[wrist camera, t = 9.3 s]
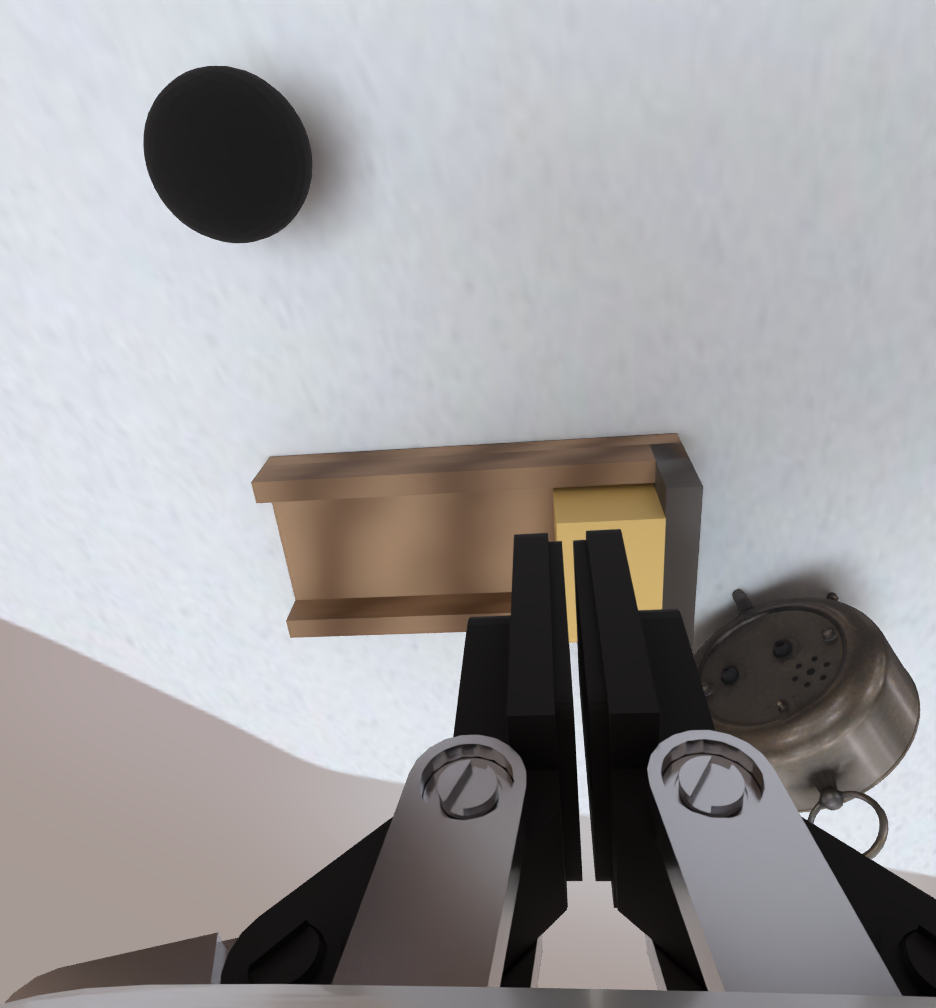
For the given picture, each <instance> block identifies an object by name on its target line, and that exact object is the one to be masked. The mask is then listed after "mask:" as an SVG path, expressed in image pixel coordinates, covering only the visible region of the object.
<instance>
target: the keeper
mask: <svg viewBox="0 0 936 1008" xmlns="http://www.w3.org/2000/svg"><path fill="white" fill-rule="evenodd" d="M553 509H554V534H555V541H562V549H563V564H564V578H565V592H566V607H567V621H568V635H569V643H570V642H577V623H576V601H575V579H574V557H573V540H586V531H590V530H609V529H621V532H622V536H623V541H624V545H625V550H626V555H627V560H628V564H629V569H630V574H631V579H632V583H633V588H634V593H635V598H636V602H637V607H638V610H659V609H662V600H663V575H664V551H665V527H666V517H665V515H664V512H663V509H662V506H661V504H660V501H659V498H658V495H657V492H656V490H655V487H654V484H653V483H638V484H619V485H599V486H580V487H561V488H553Z"/></svg>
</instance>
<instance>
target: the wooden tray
mask: <svg viewBox="0 0 936 1008" xmlns="http://www.w3.org/2000/svg"><path fill="white" fill-rule="evenodd" d="M251 483H252V487H253V491H254V495H255V499H256V503H269V502H272V504H273V509H274V513H275V517H276V521H277V525H278V529H279V534H280V538H281V542H282V546H283V550H284V554H285V558H286V563H287V567H288V571H289V575H290V579H291V583H292V587H293V592H294V596H295V603H294V605H293V607H292V609H291V611H290V614H289V616H288V618H287V620H286V622H287V626H288V630H289V634H290V638H294V637H324V636H354V635H384V634H414V633H444V632H466V631H467V624H468V619H469V617H481V616H506V615H511V594H512V570H513V546H514V534H532V533H548V540H549V542H551V541H555V534H554V509H553V488H561V487H580V486H599V485H619V484H638V483H653V484H654V487H655V490H656V492H657V495H658V498H659V501H660V504H661V506H662V509H663V512H664V515H665V517H666V527H665V551H664V575H663V600H662V609H678V610H679V611H680V613H681V616H682V619H683V622H684V626H685V629H686V632H687V636H688V639H689V643H690V646H691V649H692V644H693V629H694V614H695V599H696V584H697V569H698V554H699V539H700V524H701V509H702V494H703V486H702V484H701V481H700V479H699V477H698V475H697V473H696V471H695V469H694V467H693V465H692V463H691V461H690V459H689V457H688V455H687V453H686V451H685V449H684V447H683V445H682V443H681V441H680V438H679V436H678V434H677V433H673V434H656V435H639V436H621V437H604V438H587V439H569V440H552V441H535V442H517V443H500V444H483V445H465V446H448V447H431V448H413V449H396V450H379V451H361V452H344V453H327V454H309V455H292V456H275V457H269V459H268V460H267V461H266V463H265V464H264V466H263V467H262V468H261V470H260V471H259V473H258V474H257V475H256V477H255V478H254V480H253V481H252V482H251Z"/></svg>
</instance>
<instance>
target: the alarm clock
mask: <svg viewBox="0 0 936 1008" xmlns="http://www.w3.org/2000/svg"><path fill="white" fill-rule="evenodd" d="M733 598H734V600H735V602H736V604H737V606H738V609H739V611H740V615H739V617H737V618H736V619H734V620H732V621H731V622H729V623H728V624H726V625H725V626H724V627H722V628H721V629H720V630H719V631H717V632H716V633H715V634H714V635H713V636H712V637H711V638H709V639H708V640H707V641H706V642H705V644H704V645H703V646H702V647H701V648H700V649H699V651H698V652H697V653H696V655H695V656H694V660H695V663H696V666H697V670H698V673H699V677H700V680H701V683H702V687H703V690H704V694H705V697H706V700H707V704H708V707H709V711H710V714H711V717H712V721H713V724H714V728H715V731H716V732H721V733H726V734H730V735H732V736H734V737H736V738H739V739H741V740H743V741H745V742H747V743H749V744H750V745H751V746H753V747H754V748H755V749H757V750H758V751H759V752H761V753H762V754H763V755H764V756H765V758H766V759H767V760H768V762H769V763H770V764H771V765H772V767H773V768H774V770H775V771H776V773H777V775H778V777H779V778H780V780H781V782H782V784H783V786H784V787H785V789H786V791H787V793H788V794H789V796H790V798H791V800H792V801H793V803H794V805H795V807H796V809H797V810H798V812H810V811H811V812H810V814H809V817H808V821H809V822H811V823H812V824H813V823H814V819H815V817H816V815H817V814H818V812H819V811H820V810H821V809H826V808H827V809H829V810H837V809H839V808H841V807H842V806H843V803H845V802H847V801H850V800H852V799H854V798H859V799H862V800H864V801H866V802H867V803H868V804H870V805H871V806H872V807H873V808H874V809H875V811H876V813H877V815H878V817H879V823H880V825H879V833H878V836H877V839H876V841H875V842H874V844H873V845H872V847H871V848H870V849H869V850H868V851H866V852H865V853H863V855H864V856H866V857H868V858H869V859H873V858H874V857H875V856H876V855H877V854H878V853H879V852H880V850H881V849H882V848H883V846H884V844H885V841H886V839H887V834H888V820H887V816H886V814H885V812H884V810H883V809H882V808H881V806H880V805H879V804H878V803H877V802H876V801H875V800H874V799H872V798H871V797H870V796H868V795H866V794H864V793H865V792H866V791H868V790H870V789H871V788H873V787H874V786H875V785H877V784H878V783H879V782H881V781H882V780H883V779H884V778H885V777H886V776H888V775H889V774H890V773H891V772H892V771H893V770H894V769H895V767H896V766H897V765H898V764H899V763H900V761H901V760H902V759H903V757H904V756H905V754H906V753H907V751H908V750H909V748H910V746H911V744H912V742H913V740H914V737H915V735H916V732H917V728H918V724H919V718H920V701H919V695H918V691H917V689H916V686H915V683H914V681H913V679H912V678H911V676H910V675H909V673H908V672H907V670H906V669H905V668H904V667H903V665H902V664H901V662H900V660H899V659H898V657H897V656H896V654H895V653H894V651H893V649H892V648H891V646H890V644H889V643H888V641H887V640H886V638H885V636H884V635H883V633H882V632H881V630H880V629H879V628H878V626H877V625H876V624H875V623H874V622H873V621H872V620H871V619H870V618H869V617H867V616H866V615H865V614H864V613H862V612H860V611H859V610H857V609H855V608H853V607H851V606H849V605H847V604H844V603H841V602H838V601H837V600H838V597H837V595H836V594H835V593H829V594H828V595H827V599H822V598H794V599H786V600H781V601H776V602H773V603H769V604H766V605H763V606H760V607H757V608H753V607H752V605H751V604H750V601H749V599H748V598H747V596H746V594H745V593H744V592H742V591H741V590H738V591H735V592H734V593H733Z"/></svg>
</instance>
